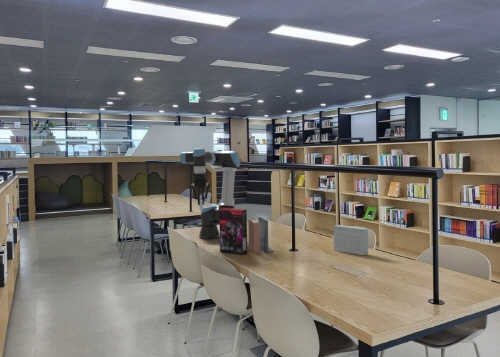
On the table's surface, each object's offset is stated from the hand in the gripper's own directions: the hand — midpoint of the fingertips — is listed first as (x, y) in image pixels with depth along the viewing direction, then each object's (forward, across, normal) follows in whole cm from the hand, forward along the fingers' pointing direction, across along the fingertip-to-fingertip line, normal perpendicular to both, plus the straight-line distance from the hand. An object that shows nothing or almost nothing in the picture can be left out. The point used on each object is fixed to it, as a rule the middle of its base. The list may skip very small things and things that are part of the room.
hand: (201, 210), depth 252 cm
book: (+27, +32, -9) cm, 42 cm away
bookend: (+27, +40, -9) cm, 49 cm away
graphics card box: (+27, +18, -10) cm, 34 cm away
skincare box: (+28, +87, -32) cm, 97 cm away
